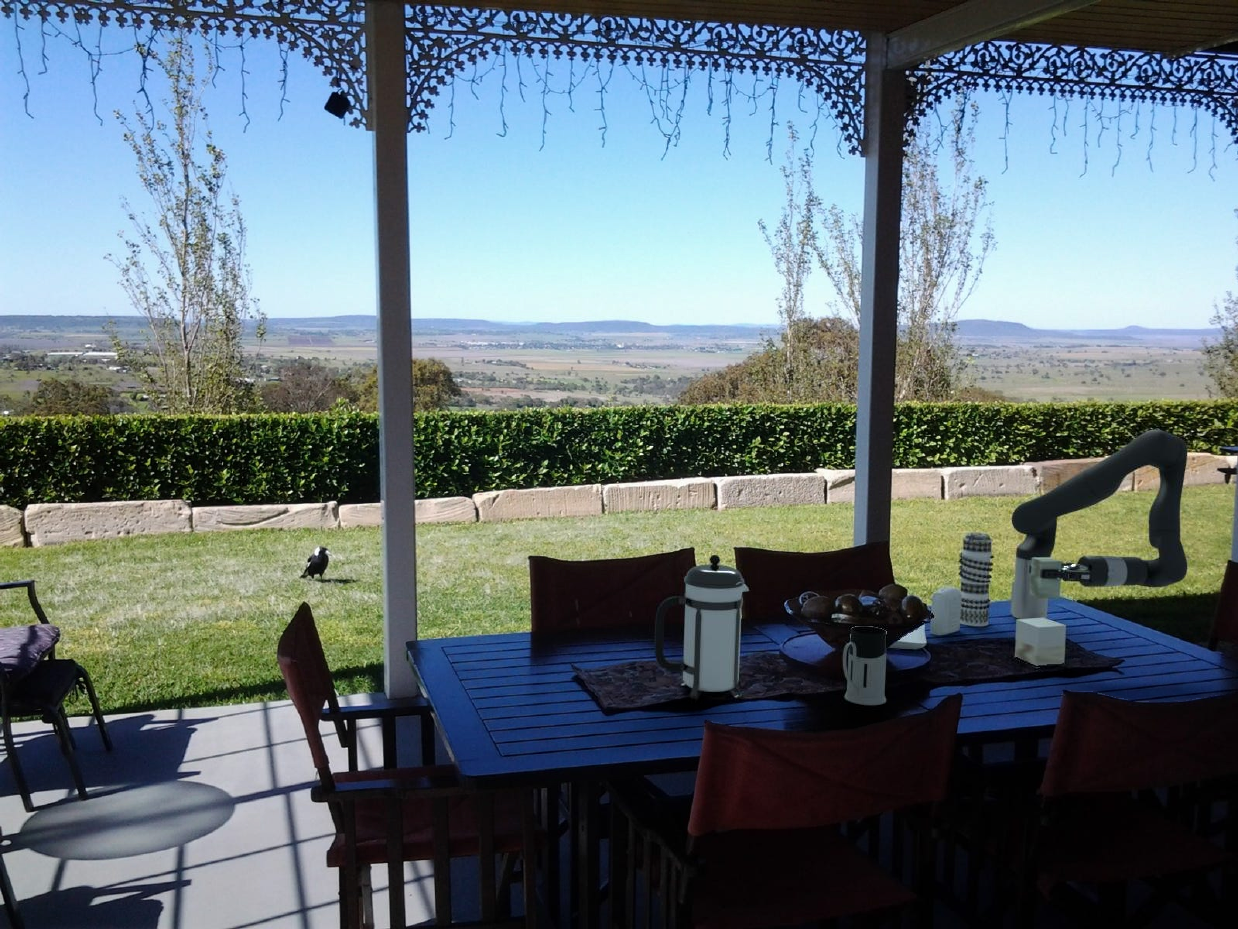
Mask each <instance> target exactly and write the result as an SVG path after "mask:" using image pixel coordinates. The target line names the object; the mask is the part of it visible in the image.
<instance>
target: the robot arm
mask: <svg viewBox="0 0 1238 929" xmlns="http://www.w3.org/2000/svg"><path fill="white" fill-rule="evenodd" d="M1187 462H1188V446H1187V444H1186V442H1185V440H1184V439H1182V438H1181V437H1179V436H1177V435H1175V434H1172V433H1170V432H1167V431H1164V430H1161V429H1150V430H1148V431H1145V432H1143V433H1142V434H1140V435H1138V436H1137V437H1136V438H1134V439H1133V440H1131V441H1130V442H1129V443H1127V444H1126V445H1125V446H1124V447H1122V448H1120V449H1119V450H1117V451H1116V452H1114V453H1112V454H1111V455H1109V456H1107V457H1106V458H1104V459H1103V460H1100V461H1099V462H1098V463H1097V462H1096V463H1095V464H1094V465H1092V466H1089V467H1088V468H1086V469H1084V470H1083V471H1080V472H1079V473H1078V474H1076V475H1074V476H1072V477H1071V478H1069V479H1067V480H1065V481H1064V482H1063V483H1061V484H1059V485H1057V486H1056V487H1055V488H1053V489H1051V490H1050V491H1048V492H1046V493H1044V494H1042V495H1040V496H1038V497H1035V498H1032V499H1029V500H1028V501H1025V502H1023V503H1021V504H1019V505H1017V507H1016V508H1015V509H1014V511H1013V512H1012V515H1011V524H1012V527H1013V528H1014V529H1015V531H1017V532H1018V533H1020V534H1022V535H1025V538H1024V540H1023V541H1022V543H1020V544H1019V545H1017V547H1016V551H1015V564H1014V566H1015V568H1014V581H1012V583H1011V595H1010V596H1011V600H1010V601H1011V602H1010V610H1009V611H1010V615H1012V616H1011V617H1013V618H1016V619H1031V618H1046V619H1048V618H1047V616H1048V601H1049V598H1038V597H1035V596H1033V595H1031V594H1030V580H1031V561H1032V558H1052V553H1053V551H1054V550H1055V549H1054V548H1055V544H1056V538H1057V536H1056V535H1057V527H1058V518H1059V517H1061V516H1064V515H1067V514H1071V513H1075V512H1079V511H1080V510H1081V511H1082V510H1085V509H1086V508H1089V507H1092V506H1095V505H1097V504H1099V503H1101V502H1102V501H1104V500H1106V499H1108V498H1109V497H1112V496H1113V495H1114V494H1115V493H1116V492H1117V491H1118V489H1119V488H1120V486H1121V485H1122V483H1123V481H1124V479H1125V478H1126V477H1127V476H1128V475H1130V474H1132V473H1133V472H1135V471H1136V470H1139V469H1141V468H1144V467H1146V466H1151V467H1153V468H1157V469H1158V472H1159V473H1158V474H1159V489H1158V492H1157V495H1156V497H1155V499H1154V500H1153V503H1152V504H1151V507H1150V510H1149V514H1148V540H1149V545H1150V546H1151V547H1153V548H1155V549H1157V552H1158V557H1157V558H1153V559H1142V558H1140V557H1136V556H1116V555H1115V556H1114V555H1083V556H1081V557H1080V558H1079V559H1078V560H1077V562H1076V563H1075V562H1073V561H1066V562H1064V561H1062V565H1061V569H1060V568H1059V569H1057V570H1056V569H1041V571H1040V577H1041V578H1043V579H1056V578H1057V579H1058V580H1061V581H1063V582H1076V583H1078V582H1079V584H1080V585H1081V586H1083V587H1085V588H1086V587H1087V588H1093V587H1094V588H1102V587H1103V588H1105V587H1106V588H1108V587H1109V588H1110V587H1118V586H1120V587H1121V586H1129V587H1130V586H1139V587H1145V588H1164V587H1168V586H1170V585H1174V584H1176V583H1179V582H1181V581H1182V580H1184V579H1185V578H1186V575H1187V573H1188V561H1187V560H1188V559H1187V556H1186V553H1185V550H1184V549H1185V548H1184V546H1183V544H1182V541H1181V500H1182V494H1183V487H1184V482H1185V474H1186V470H1187V469H1186V468H1187Z"/></svg>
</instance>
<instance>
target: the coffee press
mask: <svg viewBox="0 0 1238 929" xmlns="http://www.w3.org/2000/svg"><path fill="white" fill-rule="evenodd" d="M708 561H709V562H710V564H700V565H695V566H693V567H692V568H690V569H689V570H688V571H687V573H686V575H685V576H684V577H683V578H684V579H683V581H684V583H685V593H684V596H677V595H676V596H669V597H668V598H665V599H664V600H663V601H662V602H661V603H660V604H659V605H658V608H657V609H656V615H655V623H654V655H655V659H656V662H658V664H659V665H660V666H661V667H662V668H663V669H665V670H666V671H676V672H677V671H681V672H682V674H683V675H682V677H681V679H680V680H679V684H680V686H682V687H684V686H688V687H689V688H691V692H690V694H689V697H690V699H693V700H698V699H699V698H700V695H701V694H702V693H703V692H710V693H711V692H712V693H716V692H721V693H722V692H726V691H727V692H729V693H731V695H732V696H733V698H735V699H738V698H741V697H742V696H743V691H742V690H741V688H740V686H739V675H740V674H739V673H740V655H741V654H740V653H741V651H740V650H741V649H740V648H741V628H742V626H741V624H742V622H741V621H742V607H743V601H744V599H743V598H744V596H742V595H743V592H749V591H750V590H749V587H748V586H747V585H746V584H745V579H744V578H743V576H742V574H741V572H740V571H739V570H738V569H737V568H734V567H733V566H728V565H724V564H720V562H721V558H720V556H719V555H717V554H713V555H710V557H709V559H708ZM679 605H684V636H683V637H684V638H683V659H682V661H679V662H678V661H668V660H667V659H666V657H665V655H664V639H665V638H664V635H665V633H664V632H665V629H664V628H665V616H666V613H667V611H668V610H669V608H671V607H673V606H679ZM734 688H735V690H734ZM737 693H738V694H737Z"/></svg>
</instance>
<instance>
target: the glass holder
mask: <svg viewBox="0 0 1238 929" xmlns="http://www.w3.org/2000/svg"><path fill="white" fill-rule="evenodd" d="M886 634H887V631H886V630H884V629H882V628H878V627H873V626H855V627H852V628H851V634H850V642H849V643H846V644H845V646H844V648H843V652H842V668H843V673H844V676H845V678H846V680H847V684H846V692H845V694H844V699H845V700H847V701H848V702H850V703H854V704H857V705H861V706H862V705H864V706H878V705H883V704H885V703H886V702H887V698H886V696H885V695H886V694H885V690H886V689H885V686H886V670H887V669H886V668H887V666H886V665H887V648H886ZM847 652H848V662H847ZM847 664H848V665H847Z"/></svg>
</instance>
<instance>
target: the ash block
mask: <svg viewBox="0 0 1238 929" xmlns="http://www.w3.org/2000/svg"><path fill="white" fill-rule="evenodd" d="M1014 646H1015V648H1014V650H1015V651H1014V658H1015V657H1018V658H1020V659H1022V660H1024V661H1027V662H1029V663H1031V664H1034V665H1036V666H1038V665H1047V664H1062V663H1064V664H1065V657H1066V656H1065V655H1066V645H1065V646H1056V647H1044V648H1036V647H1034V646H1031V645H1028V644H1026V643H1023V642H1021V641H1018V640H1015V645H1014Z"/></svg>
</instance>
